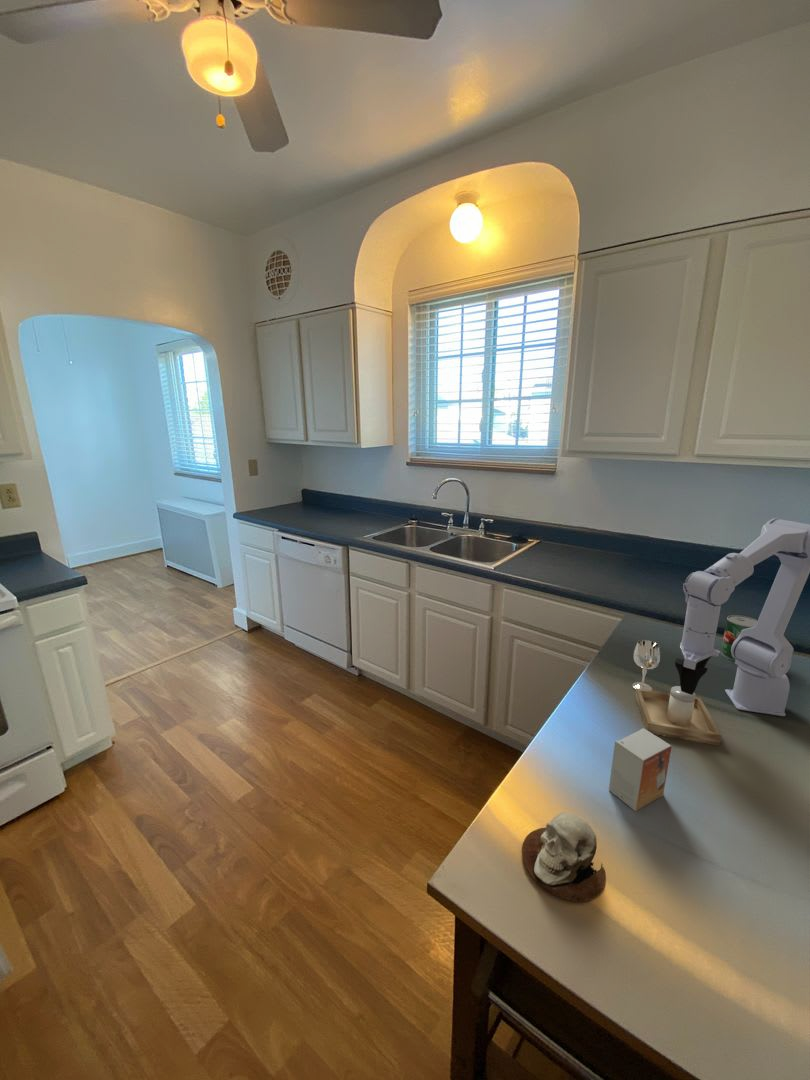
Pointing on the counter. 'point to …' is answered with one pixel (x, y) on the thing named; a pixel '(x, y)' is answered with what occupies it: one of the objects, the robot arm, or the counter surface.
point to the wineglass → (646, 659)
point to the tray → (656, 722)
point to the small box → (639, 768)
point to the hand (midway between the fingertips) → (690, 684)
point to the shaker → (680, 707)
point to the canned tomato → (735, 632)
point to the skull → (564, 858)
